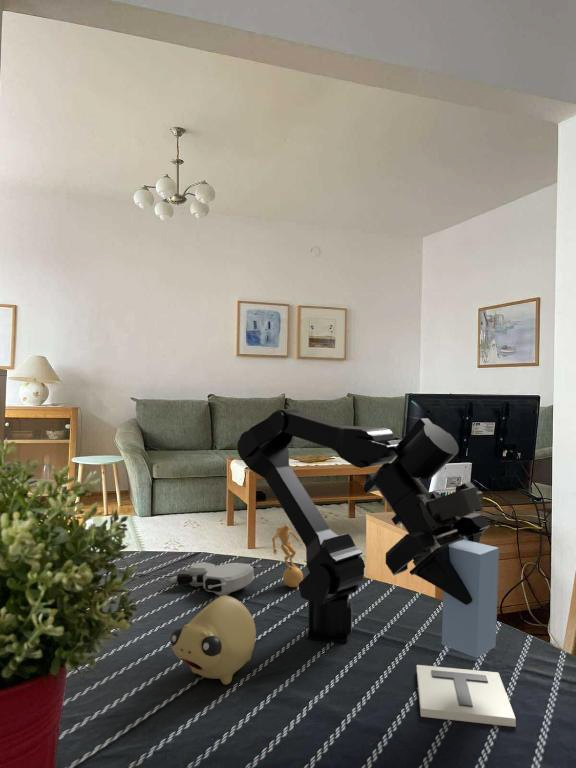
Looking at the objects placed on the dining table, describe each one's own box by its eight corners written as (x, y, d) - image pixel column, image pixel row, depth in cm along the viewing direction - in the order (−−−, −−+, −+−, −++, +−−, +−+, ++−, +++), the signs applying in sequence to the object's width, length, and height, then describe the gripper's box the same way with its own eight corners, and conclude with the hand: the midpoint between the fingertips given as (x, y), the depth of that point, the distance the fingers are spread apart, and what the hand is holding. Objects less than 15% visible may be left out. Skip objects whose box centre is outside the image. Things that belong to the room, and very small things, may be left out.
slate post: (441, 644, 76) (444, 545, 76) (461, 633, 80) (464, 539, 80) (476, 658, 72) (480, 554, 72) (495, 646, 76) (498, 547, 76)
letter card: (420, 716, 71) (420, 706, 71) (416, 671, 81) (416, 663, 81) (515, 726, 69) (515, 716, 69) (498, 679, 80) (498, 671, 80)
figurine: (287, 595, 110) (288, 532, 110) (263, 587, 114) (264, 526, 114) (313, 583, 116) (314, 524, 116) (290, 576, 120) (291, 519, 120)
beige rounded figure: (156, 687, 77) (157, 607, 77) (212, 651, 87) (213, 580, 87) (216, 709, 72) (217, 623, 72) (267, 668, 82) (268, 593, 82)
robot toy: (165, 595, 112) (229, 605, 104) (164, 571, 112) (227, 580, 105) (205, 577, 122) (264, 584, 115) (203, 555, 123) (263, 561, 115)
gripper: (406, 471, 72) (488, 582, 64) (478, 458, 85) (553, 549, 77) (355, 522, 78) (425, 630, 70) (430, 502, 91) (496, 591, 83)
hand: (479, 597), depth 75 cm, fingers closed on slate post, 5 cm apart
